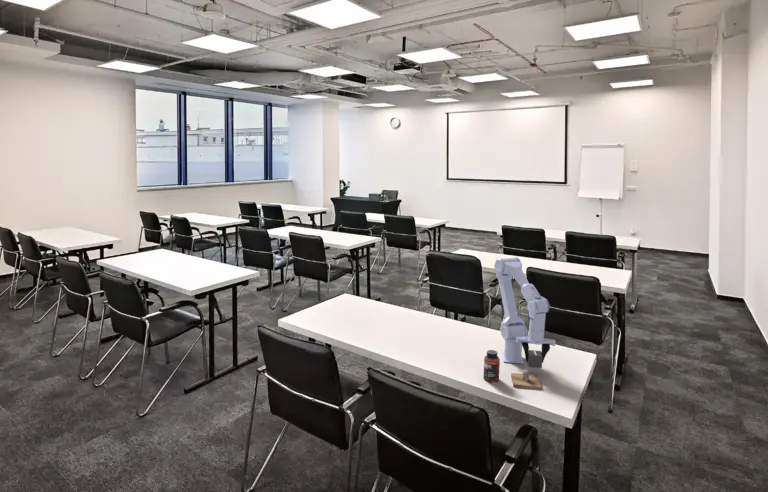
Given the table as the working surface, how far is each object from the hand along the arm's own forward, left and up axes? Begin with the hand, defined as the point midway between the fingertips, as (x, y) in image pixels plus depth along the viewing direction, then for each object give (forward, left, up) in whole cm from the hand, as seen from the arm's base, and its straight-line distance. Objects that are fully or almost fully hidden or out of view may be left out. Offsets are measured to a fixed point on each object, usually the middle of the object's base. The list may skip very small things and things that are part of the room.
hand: (534, 360), depth 186 cm
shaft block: (+8, -4, -6) cm, 11 cm away
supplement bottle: (+8, -17, -6) cm, 20 cm away
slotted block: (0, 0, -2) cm, 2 cm away
